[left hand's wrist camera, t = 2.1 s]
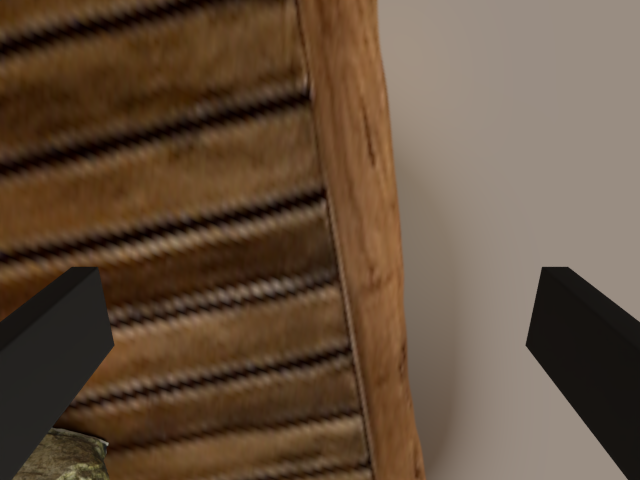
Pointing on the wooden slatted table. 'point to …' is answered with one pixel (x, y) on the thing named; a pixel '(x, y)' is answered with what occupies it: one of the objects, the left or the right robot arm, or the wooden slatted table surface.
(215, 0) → the wooden slatted table surface
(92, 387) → the wooden slatted table surface
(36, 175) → the wooden slatted table surface
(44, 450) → the fossil
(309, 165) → the wooden slatted table surface
